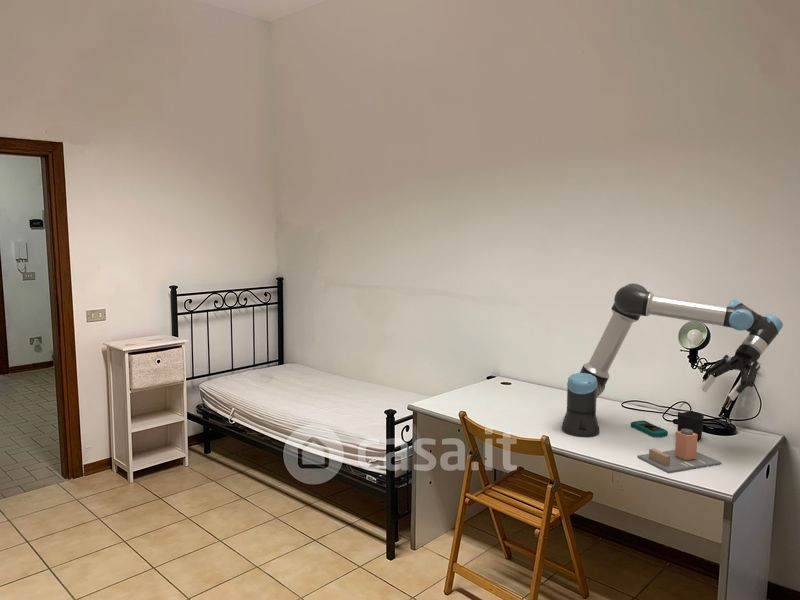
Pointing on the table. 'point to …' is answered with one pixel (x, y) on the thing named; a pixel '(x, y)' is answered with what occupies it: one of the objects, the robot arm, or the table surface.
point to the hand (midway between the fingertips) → (716, 393)
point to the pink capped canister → (686, 444)
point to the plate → (676, 461)
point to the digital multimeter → (649, 428)
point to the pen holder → (691, 422)
